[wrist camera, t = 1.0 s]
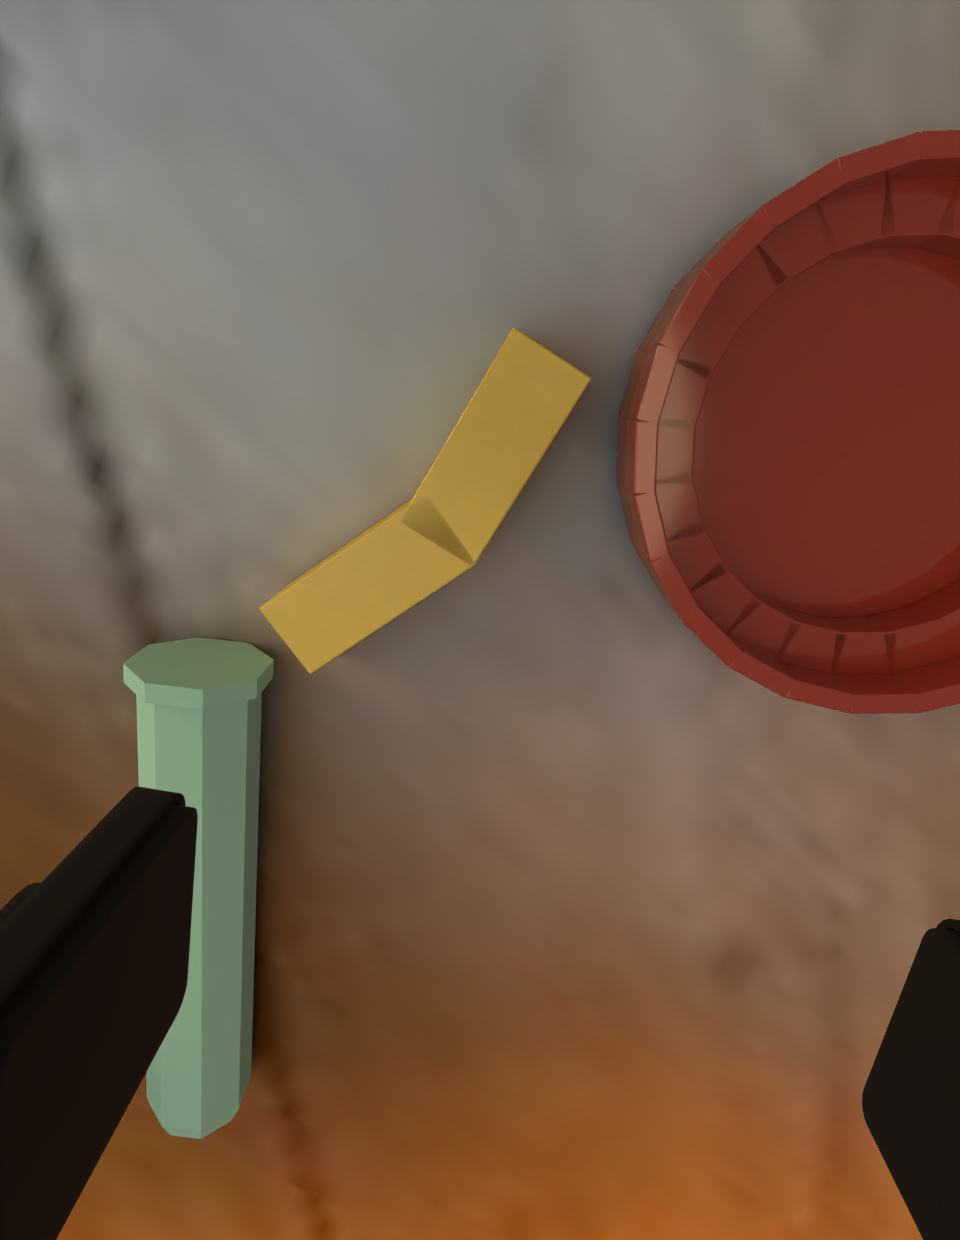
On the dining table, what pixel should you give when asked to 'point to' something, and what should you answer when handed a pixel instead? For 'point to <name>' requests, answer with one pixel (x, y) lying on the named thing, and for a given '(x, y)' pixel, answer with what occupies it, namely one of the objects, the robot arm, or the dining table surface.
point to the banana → (435, 509)
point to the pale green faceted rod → (207, 862)
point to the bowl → (814, 436)
